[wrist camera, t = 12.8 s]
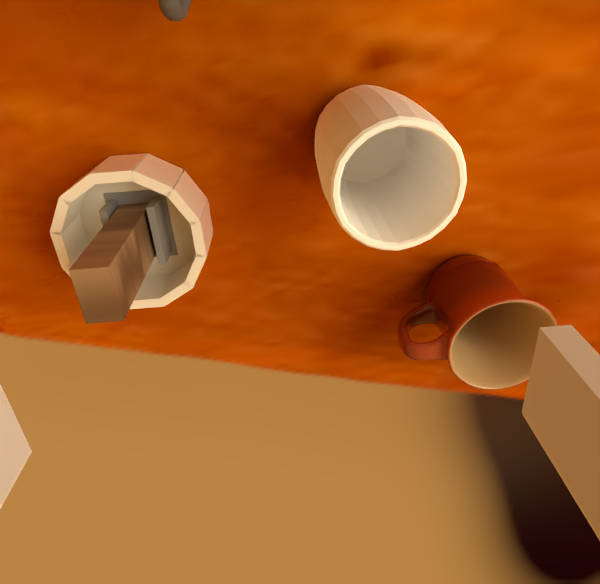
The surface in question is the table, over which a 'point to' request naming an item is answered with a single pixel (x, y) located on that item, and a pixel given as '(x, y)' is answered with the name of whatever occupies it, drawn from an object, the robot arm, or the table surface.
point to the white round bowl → (161, 213)
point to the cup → (387, 168)
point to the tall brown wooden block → (114, 265)
